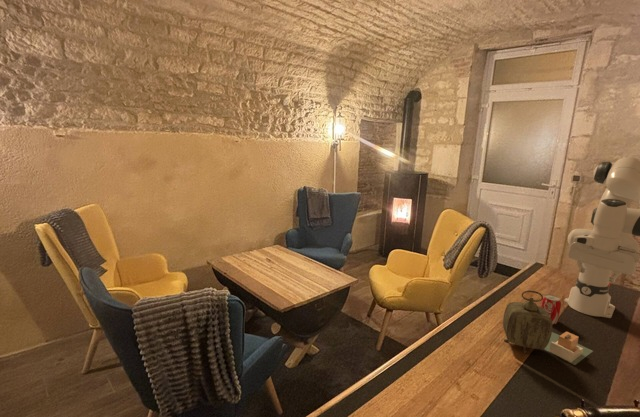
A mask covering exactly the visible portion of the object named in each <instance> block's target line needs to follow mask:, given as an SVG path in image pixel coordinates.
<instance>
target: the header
mask: <svg viewBox="0 0 640 417" xmlns="http://www.w3.org/2000/svg"><path fill="white" fill-rule="evenodd" d="M549 351H550V352H551V353H550V352H549V353H550V354H552V353H553V354H552V355H554V354H555V355H554V356H556V355H557V356H556V357H558V356H559V357H558V358H560V357H561V358H560V359H562V358H563V359H562V360H564V359H565V360H564V361H566V360H567V361H566V362H568V361H569V362H568V363H570V362H572V361H574V360H575V359H576V358H578V357H579V356H580V355H582V352H583V348H581V347H579V346H577V347H576V351H575V352H573V351H571V350H569V349H567V348H565V347H563V346H561V345H558V341H557V342H555V343H554V342H551V345H550V350H549Z"/></svg>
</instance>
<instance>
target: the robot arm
mask: <svg viewBox="0 0 640 417" xmlns="http://www.w3.org/2000/svg"><path fill="white" fill-rule="evenodd" d="M592 172H593V174H592V176H593V180H594V181H595V183H598V184H601V185H603V184H605V186H606V188H605V190H604V192H603V193H602V195H601V197H600V200H599V202H598V206H597V207H595V208H594V209H593V210H592V214H591V220H590V223H591V225H592V226H593V228H592V229H589V228H574V229H572V230H571V231H570V232H569V233H568V235H567V243H568V246H569V248H568V252H567V257H568V259H571V260H574V261H577V262H576V263H577V266H578V272H579V274H578V277H577V278H576V281H575V286H572V287H571V288H570V292H569V296H568V297H567V298H564V300H563V301H564V302H565V303H567V304H568V306H569V307H570V308H571V309H573V310H575V311H577V312H579V313H581V314H585V315H588V316H592V317H599V318H600V317H602V318H607V319H611V318H612V317H613V315H614V311H615V309H616V306H615V305H613V304H612V303H611V299H612V296H611V295H610V294H609V289H610V286H611V283H616V280H617V278H618V277H619V276H621V275H622V274H623V275H627V276H631V275H634V274H635V273H636V271H637V266H638V265H637V264H638V262H639V261H640V244H639V242H638V241H637V240H636V239H635V238H634V237H633V236H637V237H640V160H639V159H638V158H636V157H632V156H624V157H621V158H619V159H617V160H616V161H615V162H614V161H613V162H611V161H601V162H599V163H598V164H597V165H596V167H595V168H594V170H593V171H592ZM632 201H634V202H636V203H637V204H638V205H639V208H632V207H631V204H632ZM612 271H613V272H614V276H613V275H611V274H612Z"/></svg>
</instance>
